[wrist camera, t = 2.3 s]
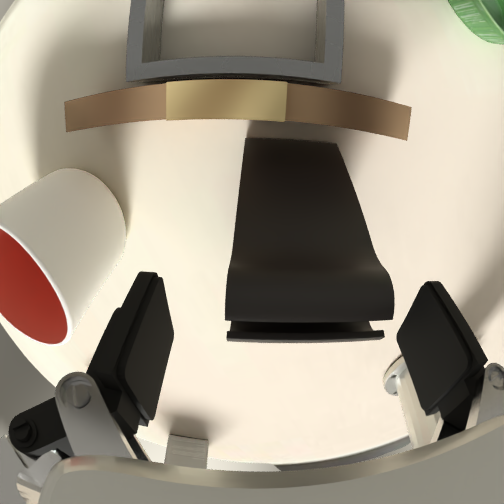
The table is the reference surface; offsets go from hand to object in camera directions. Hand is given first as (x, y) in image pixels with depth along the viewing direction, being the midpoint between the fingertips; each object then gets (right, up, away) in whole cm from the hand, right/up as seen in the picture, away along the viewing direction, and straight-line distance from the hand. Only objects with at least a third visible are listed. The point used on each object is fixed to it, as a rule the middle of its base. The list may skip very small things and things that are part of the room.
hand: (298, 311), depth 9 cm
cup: (-16, +5, +11) cm, 20 cm away
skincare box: (-14, -37, +37) cm, 54 cm away
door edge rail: (-3, +12, +6) cm, 14 cm away
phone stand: (+1, +6, +10) cm, 12 cm away
